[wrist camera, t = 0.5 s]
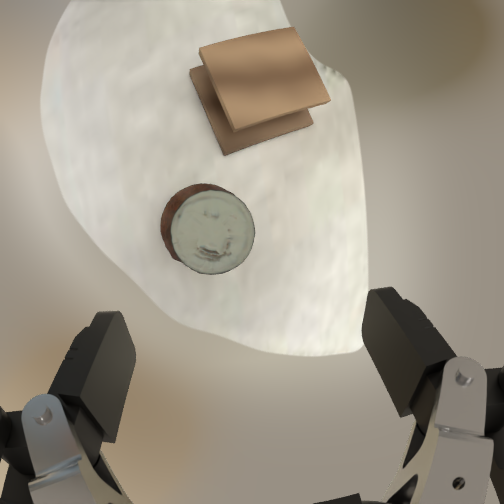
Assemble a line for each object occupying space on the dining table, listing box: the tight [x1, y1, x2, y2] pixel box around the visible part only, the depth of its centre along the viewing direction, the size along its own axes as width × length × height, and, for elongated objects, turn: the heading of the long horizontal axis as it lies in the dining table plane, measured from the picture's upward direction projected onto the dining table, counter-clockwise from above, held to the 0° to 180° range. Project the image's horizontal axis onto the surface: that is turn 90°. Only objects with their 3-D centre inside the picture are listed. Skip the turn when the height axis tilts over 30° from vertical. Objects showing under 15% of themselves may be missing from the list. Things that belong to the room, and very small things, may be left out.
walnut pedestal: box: [190, 27, 331, 156], centre depth 28 cm, size 11×11×8 cm
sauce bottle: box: [161, 184, 255, 275], centre depth 23 cm, size 7×6×20 cm
